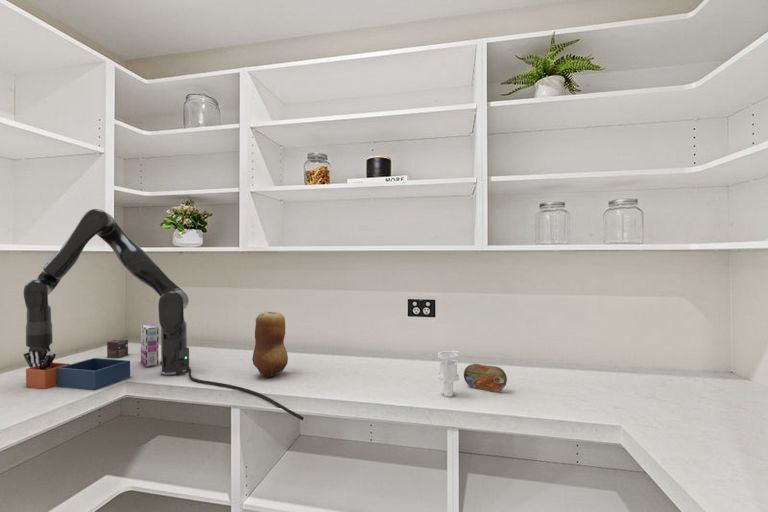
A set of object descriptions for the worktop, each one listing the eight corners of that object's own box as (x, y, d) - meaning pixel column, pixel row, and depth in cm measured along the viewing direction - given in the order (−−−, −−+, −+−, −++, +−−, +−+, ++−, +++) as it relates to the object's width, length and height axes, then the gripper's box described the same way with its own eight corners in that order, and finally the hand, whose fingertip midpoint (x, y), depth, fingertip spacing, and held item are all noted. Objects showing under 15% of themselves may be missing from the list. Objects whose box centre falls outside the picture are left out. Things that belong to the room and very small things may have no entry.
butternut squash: (294, 375, 158) (294, 311, 158) (263, 383, 148) (262, 315, 148) (275, 368, 167) (275, 308, 167) (245, 375, 158) (244, 312, 158)
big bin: (130, 377, 156) (130, 360, 156) (95, 390, 142) (94, 371, 142) (94, 374, 161) (94, 357, 160) (56, 386, 146) (56, 368, 146)
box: (117, 358, 185) (117, 342, 185) (106, 357, 186) (106, 341, 186) (128, 355, 191) (128, 339, 191) (117, 354, 192) (117, 339, 192)
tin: (463, 386, 144) (463, 362, 144) (466, 383, 147) (466, 360, 147) (505, 394, 136) (505, 369, 136) (508, 391, 139) (508, 367, 139)
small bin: (70, 380, 152) (70, 363, 152) (45, 388, 144) (44, 370, 144) (52, 379, 155) (51, 362, 154) (26, 386, 146) (25, 368, 146)
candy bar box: (159, 365, 173) (158, 327, 173) (146, 367, 170) (145, 328, 169) (153, 360, 181) (152, 323, 181) (140, 362, 178) (140, 325, 178)
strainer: (456, 399, 131) (456, 353, 131) (435, 396, 134) (435, 351, 134) (461, 392, 138) (460, 349, 137) (441, 390, 140) (440, 347, 140)
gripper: (63, 331, 152) (64, 377, 152) (36, 329, 155) (37, 374, 155) (42, 335, 145) (42, 383, 145) (14, 333, 148) (15, 380, 148)
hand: (39, 378), depth 150 cm, fingers closed on small bin, 1 cm apart
